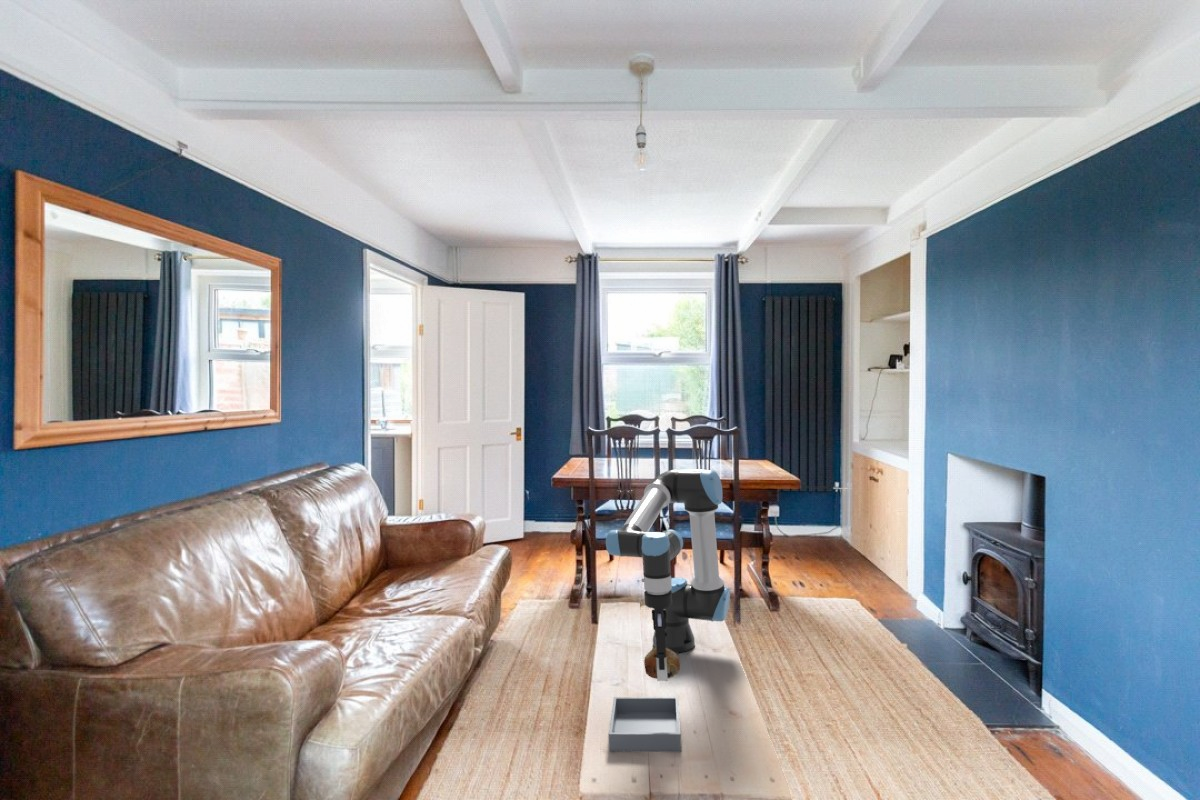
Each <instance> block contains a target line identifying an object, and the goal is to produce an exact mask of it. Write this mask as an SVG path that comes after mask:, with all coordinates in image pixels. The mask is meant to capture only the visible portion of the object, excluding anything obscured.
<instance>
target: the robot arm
mask: <svg viewBox="0 0 1200 800" xmlns="http://www.w3.org/2000/svg"><path fill="white" fill-rule="evenodd" d="M723 498H724V497H723V485H722V481H721V477H720V476H719V474H718V473H717V472H716V471H715V470H712V469H700V468H698V469H676V468H675V469H670V470H667V471H664V472H662V473H661V474H658V475H657V476H655V477H654V478H653V479H652V480H651V481H650V482H648V483H647V485H646V486H645V488H644V491H643V496H642V497H641V499H640V501H639V502H638V503H637V505H636V507H635V508H634V509H633V511H632V513H631V514H630V515H629V517H628V518H627V520H626V521H625V522H624V524H623V526H622V527H621V528H620V529H612V530H609V531H608V533H607V534H606V537H605V546H606V552H607V553H608V554H609V555H611V556H617V557H629V558H642V571H643V578H641V582H642V583H643V586H644V587H643V589H644V590H645V591H644V593H643V594H644V605H645V606H646V607H647V608H650V609H651V619H652V624H653V625H652V626H653V627H652V628H653V630H654V633H653V636H652V646H653V645H654V646H653V648H656V651H657V654H656V655H654V657H656V662H657V682H663V681H665V682H667V681H668V679H669V678H668V677H667V658H666V656H667V654H666V648H668V649H670V650H672V651H673V652H675V653H676V654H678V653H677V652H680V653H684V652H688V651H690V650H692V649H693V648H694V647H695V645H696V644H695V643H696V642H695V636H694V633H693V630H692V628H691V625H690V619H692V620H700V621H707V622H724V621H725V620H726V618H727V616H728V614H729V610H730V609H729V607H730V602H731V601H730V600H731V590H730V588H729V587H727V586H725V581H724V580H723V579H722V578H721V577H720V571H719V559H718V558H719V557H718V547H717V545H718V544H717V533H716V530H717V529H716V519H715V518H716V516H715V512H716V511H717V510H719V505H720V504H722V501H723ZM672 503H675V504H676V503H677V504H683V505H684V511H686V512H687V513H688V514H689V524H690V536H691V548H692V549H691V550H692V562H693V574H694V578H693V579H692V580H690V581H691V582H690V584H689V583H688V581H687V579H685V578H683V577H672V572H671V571H672V570H671V561H673V559H674V558H675V557H677V556H678V555H679V554H680V552H681V551H682V550H683V547H684V540H683V537H682V535H681V534H680V533H679V532H678V531H677V530H675V529H666V530H663V531H662V532H661V531H650V529H651V528H652V527H653V524H654V523H655V521H656V520H657V518H658V516H659V515H660V513H661V512H662V510H663V509H664V508H666V507H667V506H668V505H669V504H672Z"/></svg>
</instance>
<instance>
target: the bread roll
mask: <svg viewBox="0 0 1200 800" xmlns="http://www.w3.org/2000/svg"><path fill="white" fill-rule="evenodd" d="M656 654H657V651H656V648H655V647H653V648H652V649H651V650H650V651H649V652H647V654H646V655H645V656H644V662H643V663H644V670H645V674H646V675H647V676H648V677H650V678H653V679H655V680H656V679H657V662H656V657H654V655H656ZM666 654H667V656H666V658H667V677H668V679H670V678H673V677H675V676H676V675H677V674H678V673H679V672H680V670H681V661H680V658H679V656H678V655H677V654H678V653H675V652H673V651H672V650H670V649H668V648H666Z"/></svg>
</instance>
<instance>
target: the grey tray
mask: <svg viewBox="0 0 1200 800" xmlns="http://www.w3.org/2000/svg"><path fill="white" fill-rule="evenodd" d="M679 705H680V703H679V696H614V697H613V701H612V707H611V708H612V709H611V714H610V721H609V729H608V750H609V752H656V753H657V752H661V753H664V752H665V753H666V752H667V753H668V752H670V753H671V752H673V753H675V752H676V753H680V752H681V753H682V738H681V724H680V719H681V718H680V706H679Z"/></svg>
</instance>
